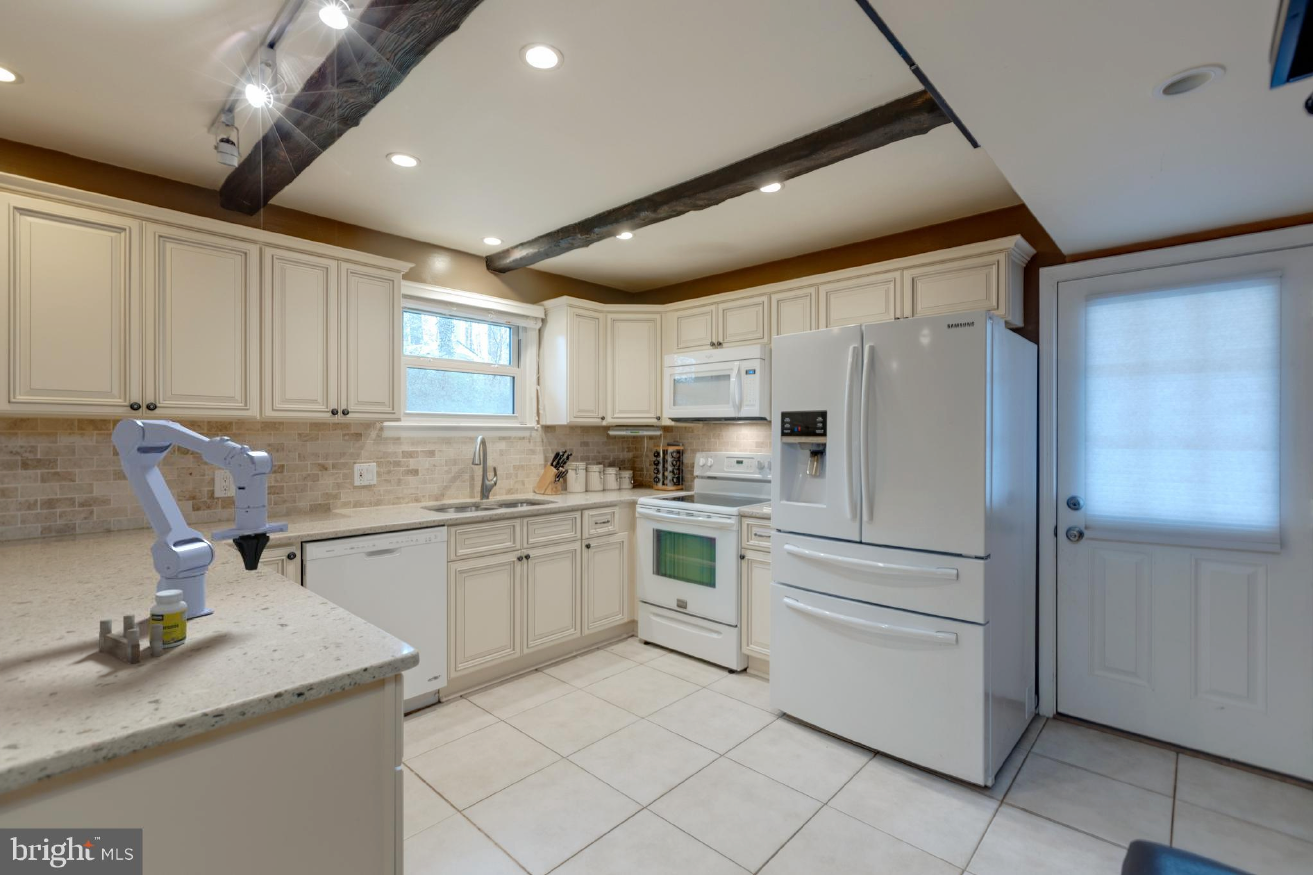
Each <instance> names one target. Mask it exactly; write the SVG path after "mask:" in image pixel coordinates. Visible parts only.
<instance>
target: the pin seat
mask: <svg viewBox="0 0 1313 875" xmlns="http://www.w3.org/2000/svg"><path fill="white" fill-rule="evenodd" d="M122 619H123V621H122V622H123V630H122V631H123V632H122V633H123V636H120V635H118V634H115V633H113V628H112V627H113V626H112V624H113V620H112V618H111V619H110V618H107V619H102V620H100V621H99V634H98V635H99V636H98V637H99V638H98V641H99V643H98V644H99V645H98V646H99V647H98V651H99V653H105V654H107V655H110V656H112V657H115V658H117V659H120V660H122V661H124V662H126V664H132V665H133V664H138V663H140V662H141V658H140V657H141V654H140V653H141V643H140V628H136V626H135V625H136V614H134V613H132V614H131V613H130V614H126V615H125V614H124V615H123V618H122ZM163 649H164V648H163V624H162V623H157V624H153V625H151V646H150V657H151V658H157V657H161V656H162V655H163V654H164V653H163Z"/></svg>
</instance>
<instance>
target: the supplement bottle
mask: <svg viewBox="0 0 1313 875" xmlns="http://www.w3.org/2000/svg"><path fill="white" fill-rule="evenodd" d="M182 598H183V591H182V590H166V591H161V592H158V593H155V595H154V600H155V604H154V605H152V606H151V608H150V611H149V640H148V641H149V647H151V625H153V624H157V623H162V624H163V649H167V648H172V647H173V648H174V647H176V645H177V646H180V645H182V644H183V643H185V642H186V640H187V632H188V631H187V628H188V625H187V624H188V623H187V622H188V620H187V604H186V603H185V602H184V601H181V599H182ZM156 602H157V604H156Z"/></svg>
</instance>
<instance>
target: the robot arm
mask: <svg viewBox="0 0 1313 875" xmlns="http://www.w3.org/2000/svg"><path fill="white" fill-rule="evenodd" d="M110 439H111V441H112V443H113V445H114V447H115V449H116V451H117V453H118V456H119V459H120V466H121V468H122V471H123V473H124V474H125V477H126V479H127V480H128V483H129V484H130V486H131V489H132V490H133V492H134V494H135V497H136V498H137V500H138V502H139V504H140V506H141V509H142V511H143V512H144V514H145V516H146V518H147V519H148V522H149V524H150V526H151V528H152V530H153V532H154V533H155V535H156V537H157V539H156V540H155V542H154V543H153V544H152V545H151V547H150V549H149V551H150V553H151V555H152V562H153V563H152V564H153V568H154V570H155V572H156V573H157V574H158V575H160V576H159V577H160V579H158V581H157V584H156V587H155V588H156V589H155V591H156V593H158V592H161V591H166V590H182V591H183V598H182V599H181V601H184V602H185V603H186V604H187V619H192V618H196V617H200V616H204V615H205V616H206V615H209V614H213V613H215V609H212V608H207V607H206V603H207V602H206V601H207V600H206V598H207V596H206V587H207V586H206V585H207V584H206V580H207V579H206V575H207V571H209V567H210V566H211V565H212V564H213V562H214V561H215V558H216V550H215V548H214V546H213V544H211V542H217V543H218V542H222V541H226V540H232V543H233V544H234V546H236V549H237V551H239V554H240V556H241V558H242V562H243V565H244V570H245V571H249V572H251V571H256V570H258V566H259V565H260V564H259V563H260V559H261V557H262V555H263V552H264V550H265V548H266V547H267V545H268V543H269V542H270V538H271V537H270V535H269V534H275V533H285V532H287V533H288V532H289V523H288V522H275V523H268V475H269V474H271V473H272V471H273V470H274V466H275V465H274V464H275V462H274V459H273V457H272V455H271V454H270V453H268V452H267V451H265V450H263V449H257V450H253V451H252V449H250V446H248V445H245V444H244V445H240V444H237V443H235V442H233V441H231V438H230V437H229V436H220V437H219V436H218V437H213V438H208V437H206V436H204V435H203V434H199V433H197V432H195V431H194V430H191V429H189V428H186V427H184V426H182V425H181V424H180V423H178V422H175V421H171V420H169V419H134V418H124V419H122V420H120V421H119V422H117V424H116V425H115V427H114V429H113V431H112V434H111V437H110ZM174 445H176V446H179V447H182V448H184V449H188V450H191V451H193V452H196V453H200V454H201V457H202V459H203V461H205V462H207V463H209V464H211V465H214V466H217V467H219V468H222V469H224V470H227V471H228V473H229V474H230V475H231V477H232V484H233V485H234V491H235V492H234V494H235V495H234V500H235V501H234V527H230V528H226V529H219V530H214V531H211V532H210V541H211V542H209V541H208V540H206V538H205V537H204V536H203V533H202V532H199V531H198V530H196V529H193V528H190V527H189V526H188V524H187V521H186V520H185V518H184V516H183V514H182V512H181V510H180V508H179V507H178V504H177V503H176V501H175V499H174V496H173V495H172V493H171V491H170V489H169V487H168V485H167V483H166V481H165V479H164V477H163V474H162V473H161V471H160V470H159V468H158V463H159V461H161V460H163V459H164V457H166V455H167V453H169V451H170V450H171V449H172V447H173V446H174ZM156 593H155V594H156ZM155 604H157V602H155Z"/></svg>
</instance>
